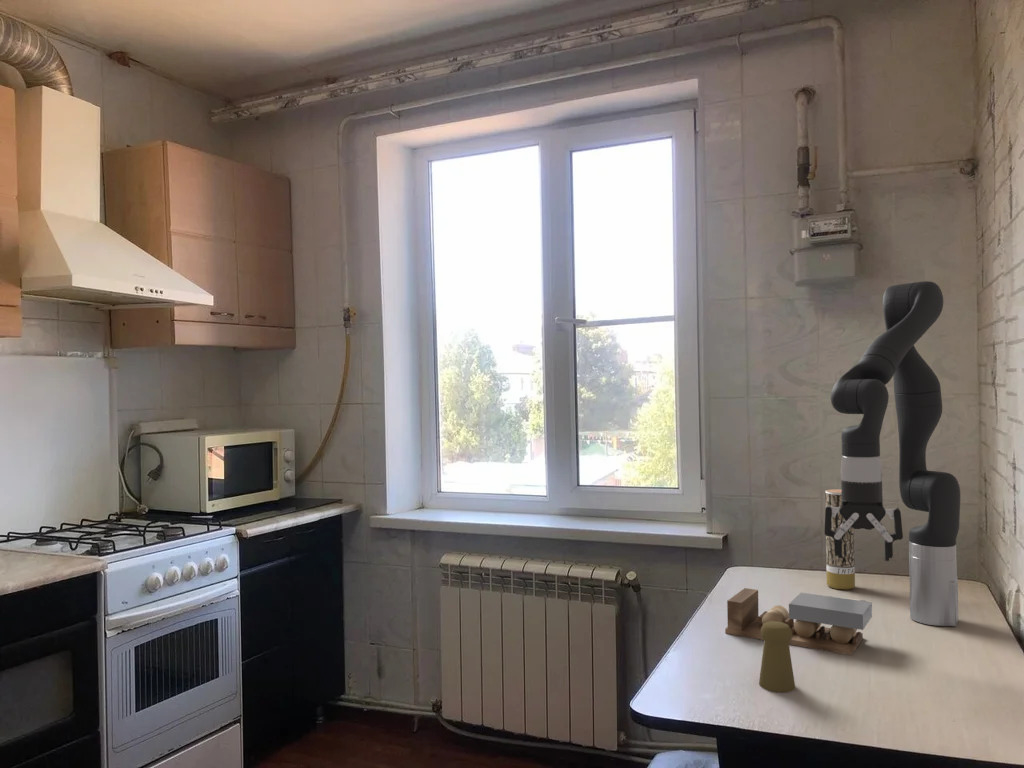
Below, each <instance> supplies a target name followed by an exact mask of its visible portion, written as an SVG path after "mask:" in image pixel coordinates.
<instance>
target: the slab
mask: <svg viewBox="0 0 1024 768" xmlns="http://www.w3.org/2000/svg"><path fill="white" fill-rule="evenodd" d="M830 596H831V595H830ZM830 596H829V595H822V594H815V593H814V594H813V593H806V592H800V593H799V594H798V595H797V596H795V598H793V599H792V600H791V601H790V602H789V603H788V613H789V618H790V619H794V620H795V621H796V620H803V621H809V622H815V623H821V625H822V624H823V625H829V626H833V625H835V626H841V627H847V628H854V629H857V630H862V631H864V629H865V628H866V627H867V625H868V623H870V620H871V619H872V618H873V602H872V601H866V600H863V601H859V600H860V599H855V600H852V599H853V598H847V599H845V598H846V597H839V598H837V596H831V597H830Z"/></svg>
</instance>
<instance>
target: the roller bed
mask: <svg viewBox="0 0 1024 768" xmlns="http://www.w3.org/2000/svg"><path fill="white" fill-rule="evenodd" d="M726 601H727V603H726V604H727V605H726V607H727V609H726V610H727V613H726V614H727V616H726V617H727V626H726V627H725V628H724V630H725V631H724V632H725V634H729V635H733V636H739V637H746V638H752V639H756V640H762V641H764V640H763V639H762V636H761V627H762V626H763V625H762V617H763V616H764V615H765V614H766V613H767V612H768V611H766V610H765V611H763V612H762V613H761V614H760V615H759V589H753V588H748V587H747V588H746V587H744V588H743V589H741V590H740V591H739V592H737V593H735V594H734V595H733V596H732V597H730V598H729V599H728V600H726ZM794 620H795V621H794ZM784 623H785V624H787V625H788V626H789V627H790V628H791V631H792V639H791V641H790V642H789V646H790V645H791V646H797V647H802V646H803V648H807V647H809V648H808V649H814V650H820V651H826V652H832V653H836V654H843V655H849V656H852V655H853V654H854V652H855V650H856V649H857V647H859V646H858V645H860V643H861V641H862V640H863V639H864V638H863V637H864V636H863V635H864V634H863V632H860V631H857V630H858V629H854V628H847V627H841V626H835V625H831V627H826V626H823V625H822V623H815V622H809V621H803V620H796V619H790V618H789V617H788V618H787V619H786V620H785V621H784ZM821 625H822V626H821Z"/></svg>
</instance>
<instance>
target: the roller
mask: <svg viewBox="0 0 1024 768" xmlns="http://www.w3.org/2000/svg"><path fill="white" fill-rule="evenodd" d="M788 617H789V610H788V609H787V608H786V607H784V606H783V605H775V606H773V607H771V608H770V609H769V610H768V611H767V613H766V614H765V615H764V616H763V617H762V625H763V624H764V623H766V622H770V621H776V622H782V623H784V621H785V620H786V619H787V618H788Z"/></svg>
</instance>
